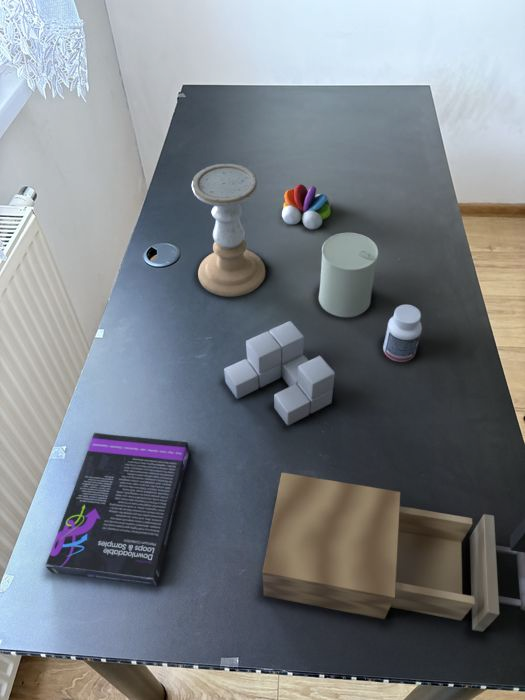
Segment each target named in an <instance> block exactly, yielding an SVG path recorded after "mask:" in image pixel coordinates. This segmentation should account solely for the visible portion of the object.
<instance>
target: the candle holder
mask: <svg viewBox="0 0 525 700" xmlns="http://www.w3.org/2000/svg"><path fill="white" fill-rule="evenodd" d="M257 189H258V179H257V176H256V174H255V173H254V172H253V171H252V169H249V168H248V167H245V166H243V165H240V164H237V163H236V164H235V163H217V164H213V165H209V166H207V167H205V168H203V169H201V170H200V171H199V172H197V173H196V174H195V175H194V177H193V179H192V181H191V190H192V193H193V195H194V196H195V197H196V198H197V199H198V200H199V201H200V202H202V203H205V204H208V205H211V206H213V207H212V209H211V215H212V217H213V218H214V219H215V224H214V228H213V231H212V238H213V240H214V243H213V245H212V250H213V252H212V253H210V254H208V256H206V257H205V258H204V259H203V260H202V261H201V263H200V265H199V268H198V271H197V273H198V274H197V275H198V280H199V282H200V284H201V286H202V287H203V288H204V289H205V290H206V291H208V292H209V293H211V294H214V295H216V296H220V297H227V298H228V297H229V298H230V297H231V298H232V297H240V296H244V295H246V294H247V295H248V294H249V293H252V292H253V291H256V289H258V288H259V287H260V285H262V283H263V282H264V280H265V277H266V267H265V264H264V262H263V260H262V258H261V257H259V256H258V255H257V254H255V253H254V252H253V251H250V250H248V249H247V243H246V241H245V236H246V234H245V229H244V227H243V225H242V223H241V220H240V219H241V218H240V217H241V216H242V214H243V209H242V207H241V205H240V204H242V203H244V202H246V201H247V200H249V199H251V198H252V197H253V196H254V194H256V191H257Z"/></svg>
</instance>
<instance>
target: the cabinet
mask: <svg viewBox="0 0 525 700" xmlns="http://www.w3.org/2000/svg"><path fill="white" fill-rule="evenodd" d="M400 506H401V491H395V490H392V489H391V490H390V489H385V488H379V487H372V486H367V485H361V484H353V483H349V482H348V483H347V482H341V481H336V480H330V479H324V478H317V477H312V476H307V475H306V476H305V475H300V474H294V473H287V472H281V476H280V478H279V485H278V490H277V495H276V501H275V505H274V510H273V516H272V522H271V526H270V530H269V531H270V532H269V537H268V542H267V547H266V552H265V557H264V562H263V568H262V587H263V596H264V597H269V598H274V599H279V600H284V601H289V602H294V603H299V604H304V605H310V606H315V607H320V608H325V609H330V610H335V611H340V612H345V613H351V614H355V615H361V616H366V617H372V618H377V619H381V620H385V619H386V617H387V615H388V613H389V611H390V609H391V608H392V607H391V604H392V602H393V600H394V598H395V587H396V568H397V548H398V529H399V510H400Z"/></svg>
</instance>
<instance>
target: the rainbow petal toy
mask: <svg viewBox="0 0 525 700" xmlns="http://www.w3.org/2000/svg"><path fill="white" fill-rule="evenodd" d="M316 193H317V188H316V186H310V187H309V189H308V188H307V187H306V186H305V185H304V184H302V183H301V184H297V185H296V186H295V188H291V189H290V188H289V189H287V190H286V191H285V192H284V200H285V202H284V203H283V207H282V211H281V217H282V220H283V221H284V222H285V223H286V224H288V225H297V224H298V223H300V222H301V221H302V223H303V225H304V227H305V228H307V229H308V230H317V229H318V228H320V227H321V226H322V224H323V220H325V219H327V218H329V217H330V215H331V201H330V199H329V197H328V196H327V194H325V193H317V194H316Z"/></svg>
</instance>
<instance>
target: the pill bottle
mask: <svg viewBox="0 0 525 700" xmlns="http://www.w3.org/2000/svg"><path fill="white" fill-rule="evenodd" d="M421 313H422V312H421V311H420V309H419V308H418V307H416V306H414V305H412V304H401V305H399V306H397V307H396V308H395V309H394V312H393V316H391V317H390V318H389V320H388V322H387V326H386V331H385V337H384V342H383V346H382V349H383V353H384V354H385V355H386V356H387V357H388V358H389V359H390V360H392V361H395V362H401V363H403V362H408V361H410V360H412V359H414V357H415V355H416V354H417V349H418V345H419V342H420V338H421V335H422V330H423V326H422V322H421V318H422V314H421Z"/></svg>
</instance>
